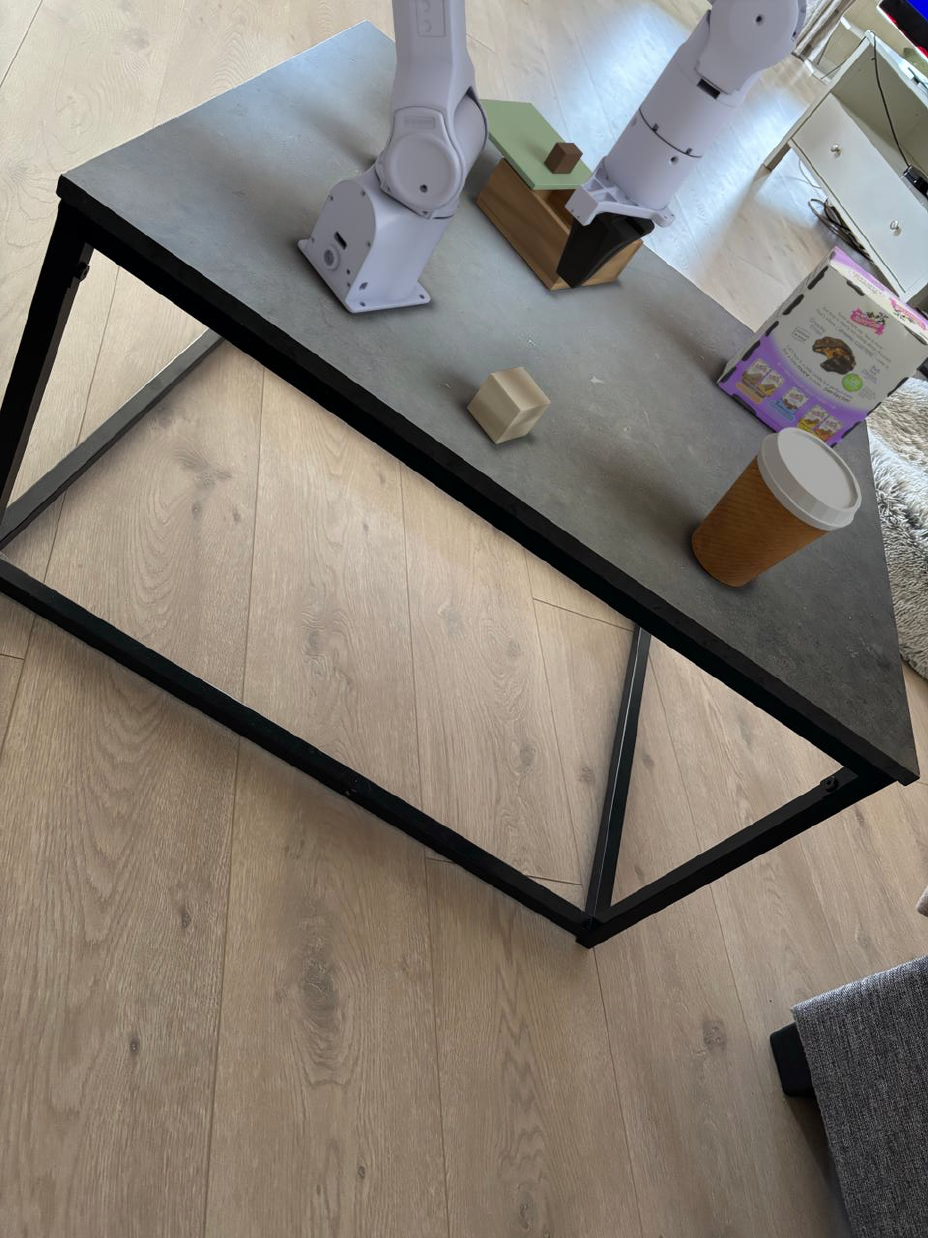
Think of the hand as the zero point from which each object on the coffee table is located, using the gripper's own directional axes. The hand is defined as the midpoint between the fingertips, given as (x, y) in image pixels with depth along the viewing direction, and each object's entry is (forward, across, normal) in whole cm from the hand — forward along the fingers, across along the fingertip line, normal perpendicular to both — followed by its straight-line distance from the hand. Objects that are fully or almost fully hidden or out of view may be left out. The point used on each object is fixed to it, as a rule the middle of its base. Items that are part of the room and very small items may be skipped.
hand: (567, 278), depth 79 cm
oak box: (+9, +21, +11) cm, 25 cm away
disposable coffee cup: (+10, +3, -25) cm, 27 cm away
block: (+9, -8, -4) cm, 13 cm away
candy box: (+10, +30, -18) cm, 36 cm away
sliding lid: (+4, +22, +18) cm, 29 cm away
